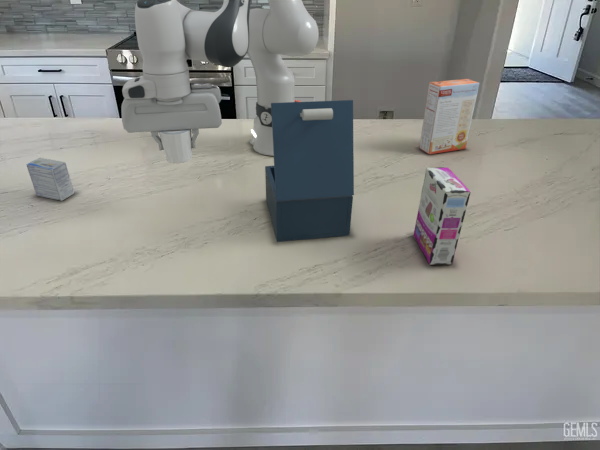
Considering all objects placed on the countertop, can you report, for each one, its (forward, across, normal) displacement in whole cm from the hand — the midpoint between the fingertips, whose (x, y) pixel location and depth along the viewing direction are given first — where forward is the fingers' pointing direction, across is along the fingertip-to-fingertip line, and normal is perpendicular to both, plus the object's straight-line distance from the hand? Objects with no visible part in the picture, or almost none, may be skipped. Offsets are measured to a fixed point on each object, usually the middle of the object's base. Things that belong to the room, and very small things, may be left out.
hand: (177, 148), depth 97 cm
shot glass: (+2, 0, 0) cm, 2 cm away
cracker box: (+16, -78, -26) cm, 84 cm away
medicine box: (+15, +32, -11) cm, 37 cm away
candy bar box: (+15, -50, +26) cm, 59 cm away
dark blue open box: (+15, -27, +9) cm, 32 cm away
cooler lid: (-4, -27, +15) cm, 31 cm away
